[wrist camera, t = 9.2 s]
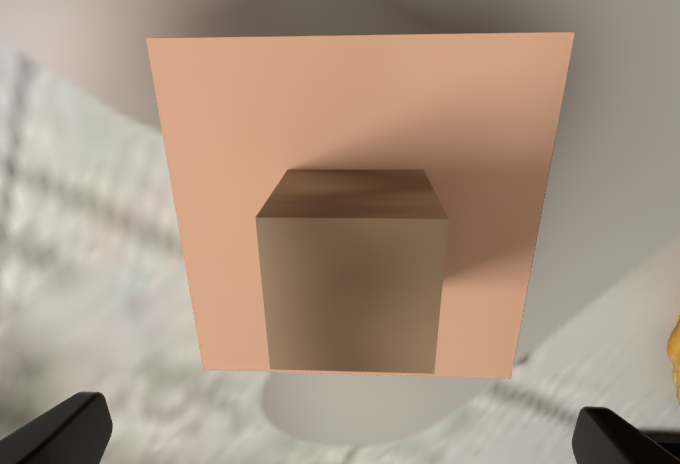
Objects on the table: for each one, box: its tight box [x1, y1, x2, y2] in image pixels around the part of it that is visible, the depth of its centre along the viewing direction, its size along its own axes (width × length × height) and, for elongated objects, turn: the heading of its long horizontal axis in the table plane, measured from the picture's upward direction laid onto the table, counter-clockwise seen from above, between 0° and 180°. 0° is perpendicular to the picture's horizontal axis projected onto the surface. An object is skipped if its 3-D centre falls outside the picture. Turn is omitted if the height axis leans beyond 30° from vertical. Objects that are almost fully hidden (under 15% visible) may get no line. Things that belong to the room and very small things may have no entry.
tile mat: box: [146, 32, 575, 379], centre depth 17 cm, size 14×14×1 cm
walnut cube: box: [255, 170, 449, 374], centre depth 14 cm, size 5×5×5 cm
